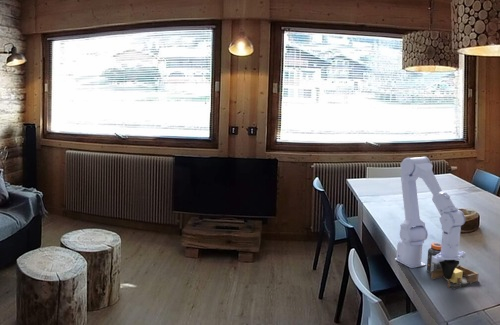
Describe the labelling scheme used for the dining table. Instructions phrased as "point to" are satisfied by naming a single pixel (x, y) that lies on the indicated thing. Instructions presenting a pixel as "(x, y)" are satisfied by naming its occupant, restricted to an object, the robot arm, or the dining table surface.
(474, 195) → the dining table surface
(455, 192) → the dining table surface
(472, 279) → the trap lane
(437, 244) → the pill bottle
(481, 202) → the dining table surface
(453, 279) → the ochre block
